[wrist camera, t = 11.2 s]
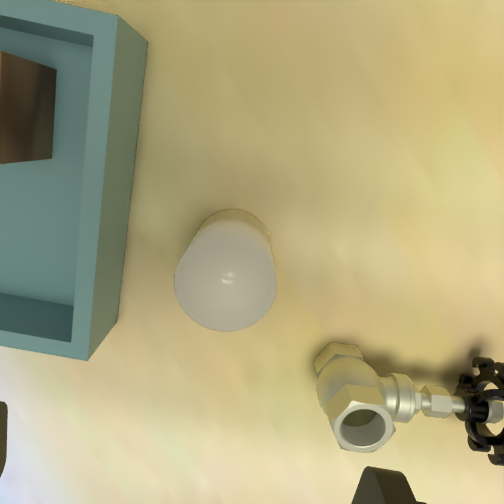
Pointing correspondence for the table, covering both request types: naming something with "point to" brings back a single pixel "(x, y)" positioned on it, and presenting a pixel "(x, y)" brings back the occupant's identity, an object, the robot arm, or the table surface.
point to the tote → (70, 180)
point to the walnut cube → (26, 109)
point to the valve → (404, 401)
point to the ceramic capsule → (227, 272)
